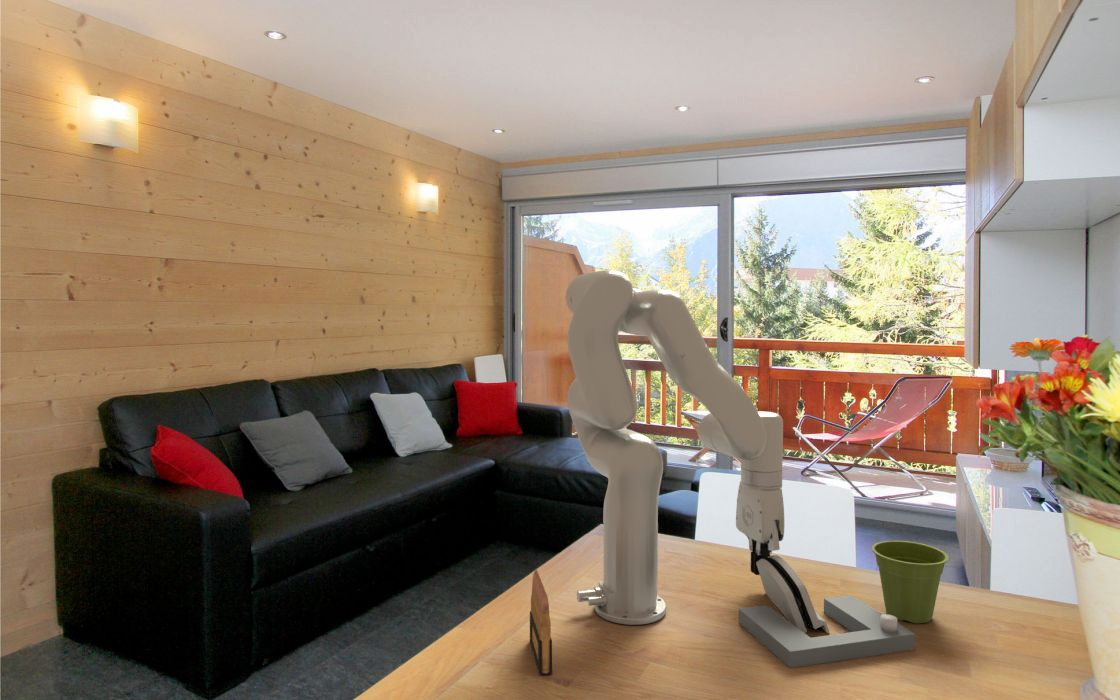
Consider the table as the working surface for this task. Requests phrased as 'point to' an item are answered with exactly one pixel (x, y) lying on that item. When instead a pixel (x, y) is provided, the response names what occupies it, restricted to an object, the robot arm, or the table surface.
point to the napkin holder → (540, 627)
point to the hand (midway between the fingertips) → (760, 572)
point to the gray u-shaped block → (799, 649)
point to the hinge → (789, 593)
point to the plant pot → (909, 578)
